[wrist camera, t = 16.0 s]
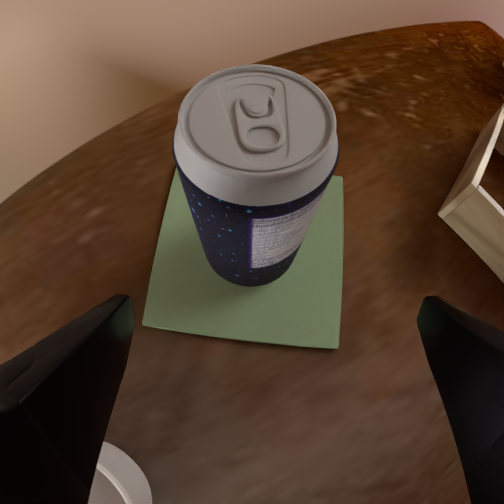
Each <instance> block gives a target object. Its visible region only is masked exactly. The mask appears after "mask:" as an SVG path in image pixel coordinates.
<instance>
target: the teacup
mask: <svg viewBox="0 0 504 504" xmlns="http://www.w3.org/2000/svg"><path fill="white" fill-rule="evenodd" d="M90 491H91V492H90V497H89V501H88V504H152V495H151V490H150V486H149V483H148V481H147V479H146V477H145V475H144V473H143V472H142V470H141V469H140V468H139V466H138V465H137V464H136V463H135V462H134V461H133V460H132V459H131V458H130V457H129V456H128V455H127V454H126V453H124V452H123V451H122V450H120V449H119V448H117V447H116V446H114V445H112V444H110V443H108V442H105V441H103V444H102V448H101V452H100V456H99V459H98V463H97V467H96V471H95V475H94V479H93V483H92V487H91V490H90Z"/></svg>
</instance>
